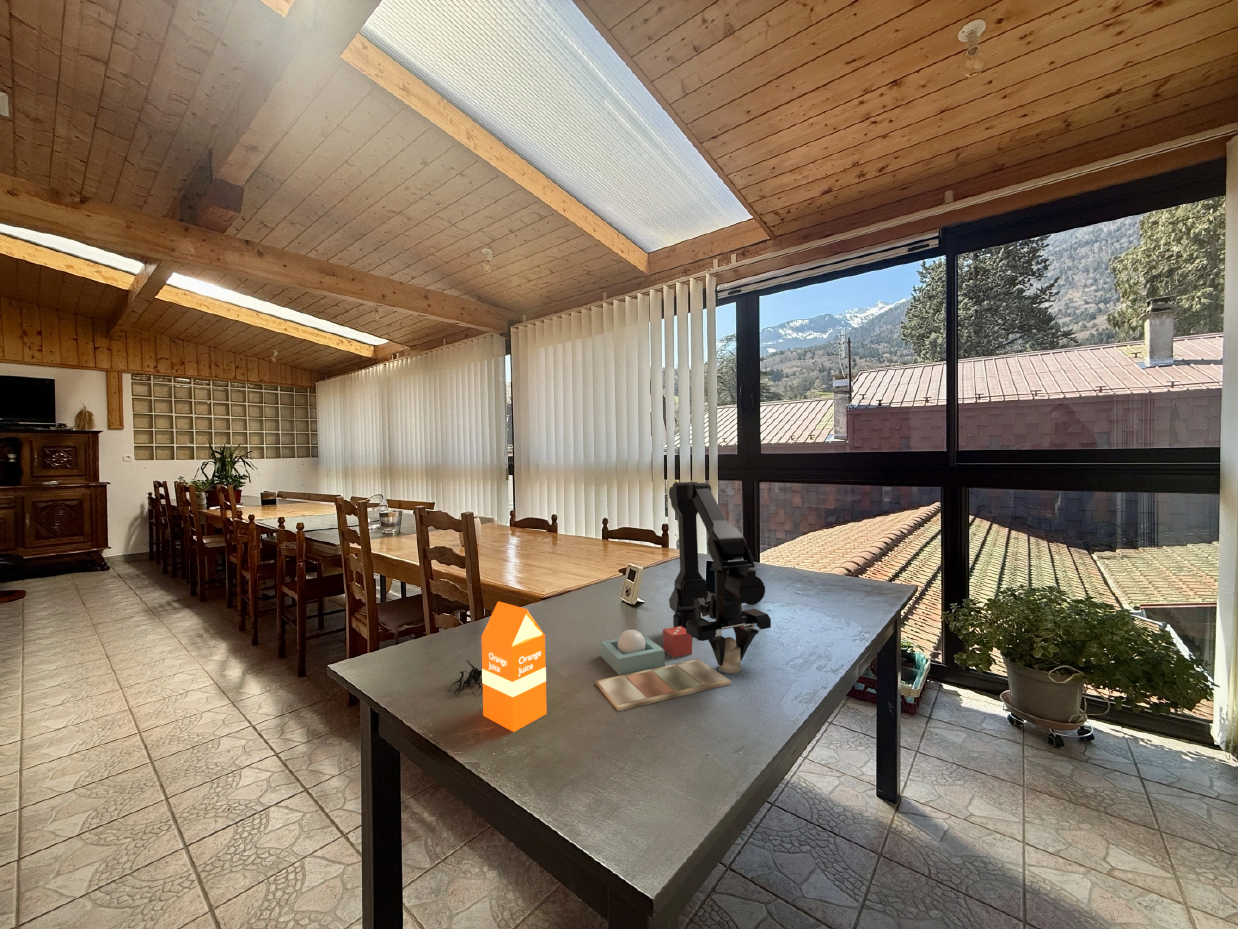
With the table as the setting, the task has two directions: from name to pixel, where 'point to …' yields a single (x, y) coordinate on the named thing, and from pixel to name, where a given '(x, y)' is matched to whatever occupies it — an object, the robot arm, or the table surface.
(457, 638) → the table surface
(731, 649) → the pawn
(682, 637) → the red die
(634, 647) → the white ball
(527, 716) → the orange juice
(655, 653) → the housing
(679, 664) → the game board
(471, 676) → the creature
